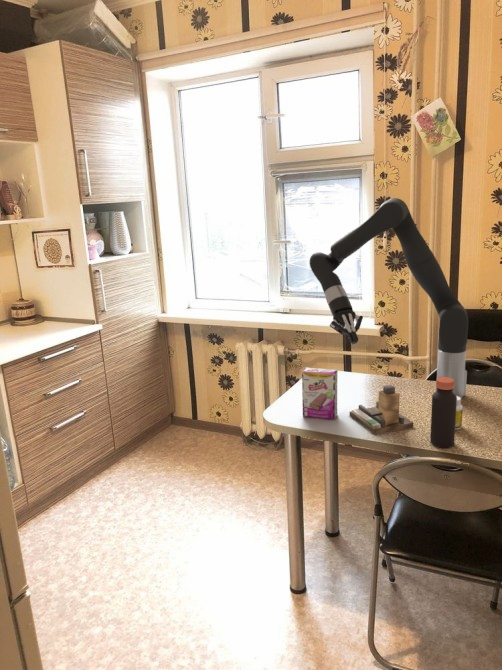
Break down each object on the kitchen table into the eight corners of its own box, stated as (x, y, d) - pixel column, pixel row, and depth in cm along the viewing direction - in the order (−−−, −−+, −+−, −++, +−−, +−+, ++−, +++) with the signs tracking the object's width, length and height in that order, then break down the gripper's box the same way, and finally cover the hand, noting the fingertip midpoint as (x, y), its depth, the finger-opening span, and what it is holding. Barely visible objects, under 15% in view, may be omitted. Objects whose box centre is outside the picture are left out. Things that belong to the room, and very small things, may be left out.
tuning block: (391, 417, 179) (392, 384, 176) (398, 422, 176) (399, 388, 173) (367, 422, 177) (367, 388, 174) (374, 427, 173) (374, 392, 170)
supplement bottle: (463, 430, 172) (464, 401, 169) (444, 430, 173) (446, 400, 170) (460, 423, 177) (461, 394, 174) (442, 422, 178) (443, 394, 175)
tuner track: (385, 408, 191) (386, 399, 190) (413, 426, 176) (413, 416, 175) (349, 415, 187) (349, 406, 186) (374, 434, 172) (374, 424, 171)
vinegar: (457, 448, 161) (461, 383, 156) (434, 448, 161) (437, 384, 156) (449, 437, 168) (453, 375, 162) (427, 438, 168) (429, 376, 163)
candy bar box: (302, 417, 187) (301, 371, 183) (305, 411, 192) (304, 366, 187) (335, 420, 184) (334, 373, 179) (337, 414, 188) (337, 368, 184)
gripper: (324, 298, 195) (341, 342, 188) (357, 292, 199) (375, 334, 192) (318, 308, 201) (334, 351, 195) (350, 302, 205) (367, 344, 199)
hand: (355, 343), depth 193 cm, fingers closed
